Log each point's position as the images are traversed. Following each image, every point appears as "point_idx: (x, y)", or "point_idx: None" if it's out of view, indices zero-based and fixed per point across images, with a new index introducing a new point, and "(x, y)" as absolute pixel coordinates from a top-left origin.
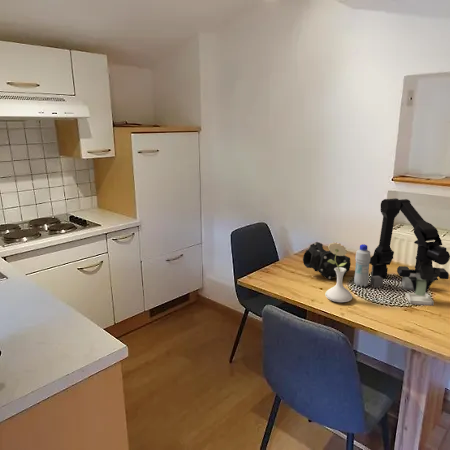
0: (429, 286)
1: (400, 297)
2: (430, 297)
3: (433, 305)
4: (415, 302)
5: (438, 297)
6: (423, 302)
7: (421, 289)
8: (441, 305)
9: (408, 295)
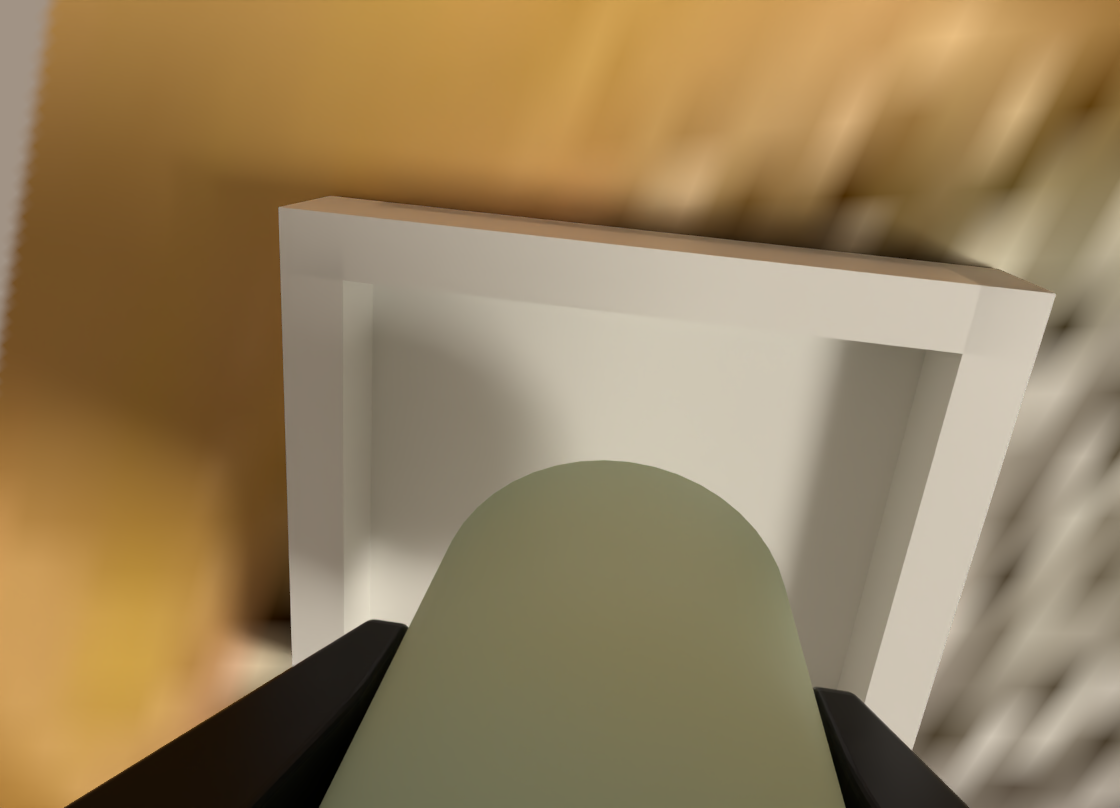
0: (123, 783)
1: (1048, 678)
2: (294, 527)
3: (328, 199)
4: (860, 263)
5: (96, 654)
6: (609, 234)
7: (640, 621)
8: (115, 222)
9: (910, 661)
